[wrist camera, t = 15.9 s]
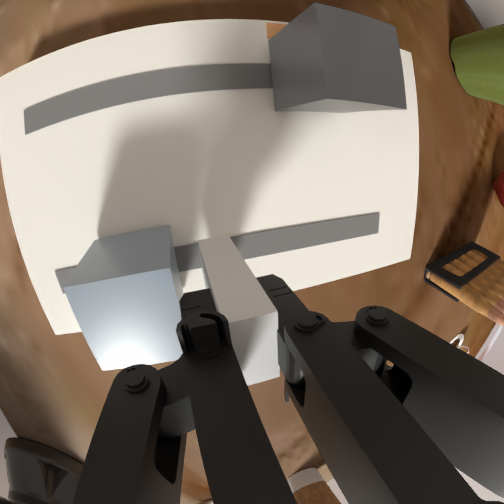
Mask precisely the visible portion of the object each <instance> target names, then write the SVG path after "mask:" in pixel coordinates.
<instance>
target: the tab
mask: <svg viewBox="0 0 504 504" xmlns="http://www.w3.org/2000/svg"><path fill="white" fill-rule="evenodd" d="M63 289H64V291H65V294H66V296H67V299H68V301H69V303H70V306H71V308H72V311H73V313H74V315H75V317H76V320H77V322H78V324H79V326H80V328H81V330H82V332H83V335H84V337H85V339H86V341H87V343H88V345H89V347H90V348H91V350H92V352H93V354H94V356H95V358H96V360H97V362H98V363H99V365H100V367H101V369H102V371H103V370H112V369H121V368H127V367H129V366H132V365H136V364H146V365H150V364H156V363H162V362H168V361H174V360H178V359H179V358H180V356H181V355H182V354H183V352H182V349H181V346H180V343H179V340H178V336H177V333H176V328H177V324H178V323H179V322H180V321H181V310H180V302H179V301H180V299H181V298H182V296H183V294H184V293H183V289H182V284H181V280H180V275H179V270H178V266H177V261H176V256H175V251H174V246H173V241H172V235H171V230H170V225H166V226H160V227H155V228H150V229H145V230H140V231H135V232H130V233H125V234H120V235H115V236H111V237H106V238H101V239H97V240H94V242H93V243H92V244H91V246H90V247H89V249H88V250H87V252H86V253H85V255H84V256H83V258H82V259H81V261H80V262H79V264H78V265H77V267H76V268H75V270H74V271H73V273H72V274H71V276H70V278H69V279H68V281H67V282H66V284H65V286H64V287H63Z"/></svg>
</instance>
